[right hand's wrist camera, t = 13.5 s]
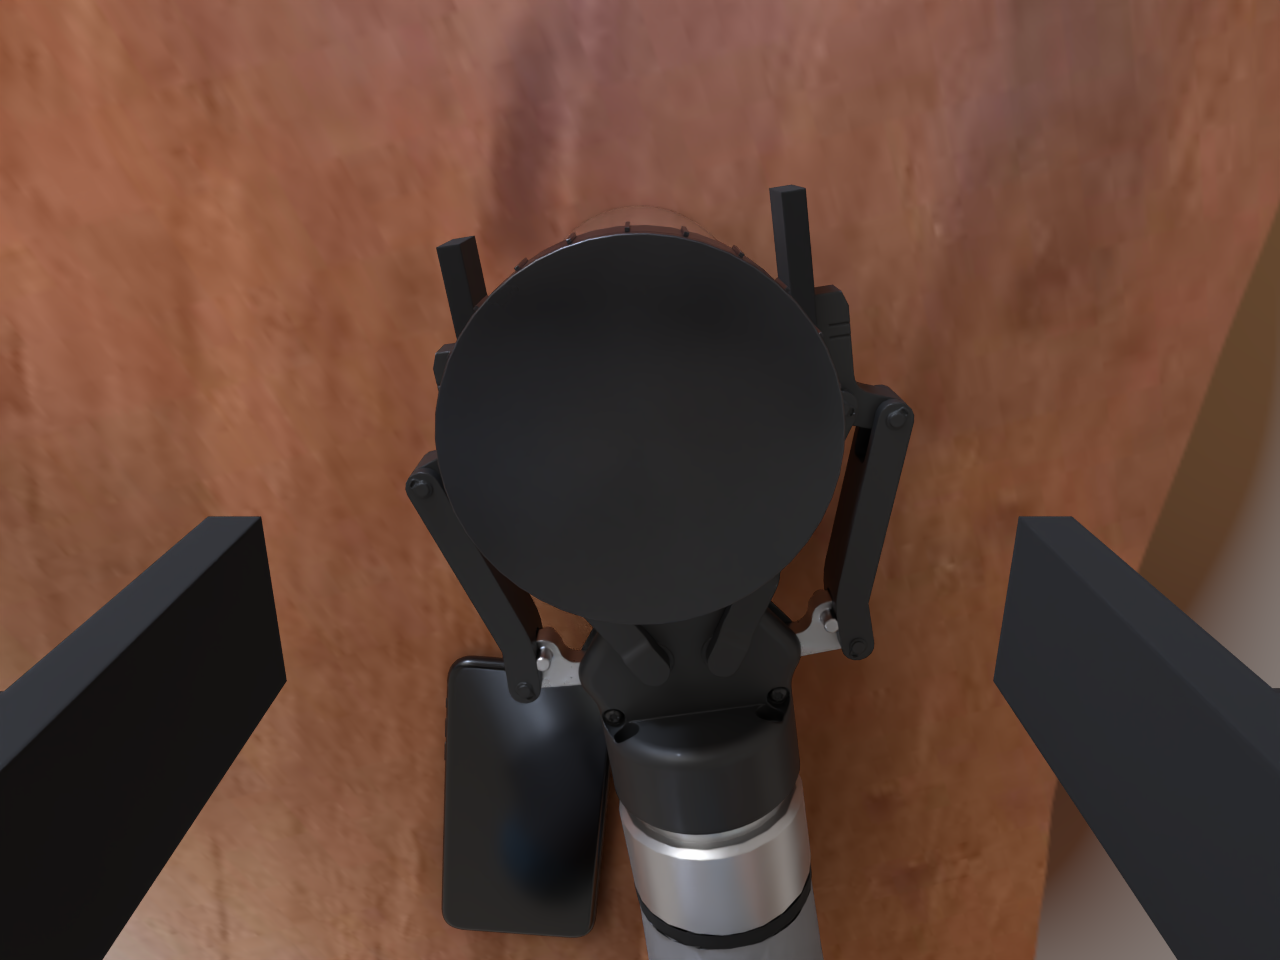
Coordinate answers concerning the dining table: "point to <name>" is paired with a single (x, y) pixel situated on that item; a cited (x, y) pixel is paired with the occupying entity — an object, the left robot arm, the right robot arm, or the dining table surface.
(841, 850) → the dining table surface
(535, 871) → the smartphone
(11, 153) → the dining table surface
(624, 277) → the lid
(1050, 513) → the dining table surface
